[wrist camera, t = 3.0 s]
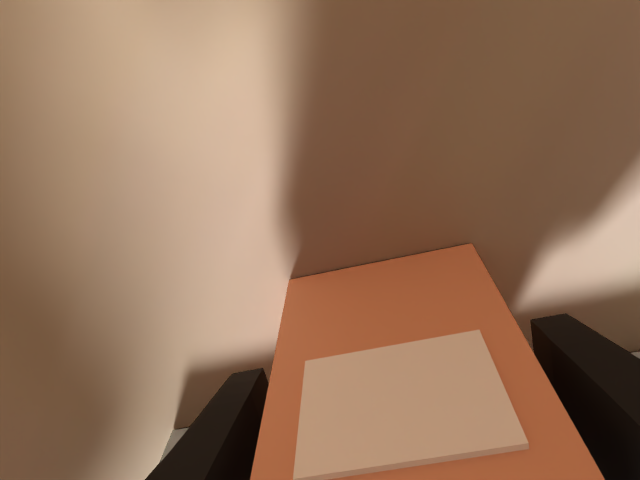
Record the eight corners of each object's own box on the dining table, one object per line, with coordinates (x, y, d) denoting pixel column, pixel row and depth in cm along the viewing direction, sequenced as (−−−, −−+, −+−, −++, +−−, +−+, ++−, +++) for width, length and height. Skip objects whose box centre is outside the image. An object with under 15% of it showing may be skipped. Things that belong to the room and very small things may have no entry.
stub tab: (321, 388, 13) (301, 758, 7) (288, 276, 12) (224, 590, 5) (488, 359, 12) (645, 729, 6) (470, 239, 11) (641, 537, 5)
